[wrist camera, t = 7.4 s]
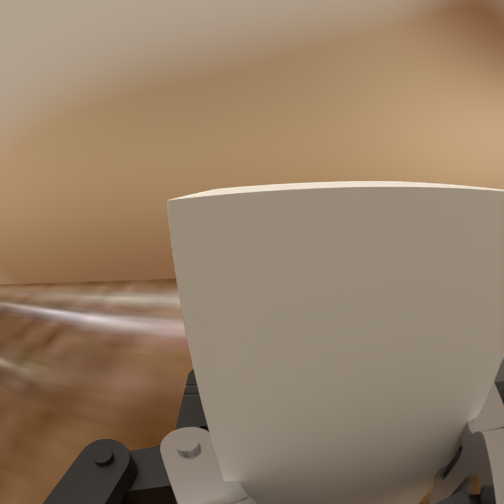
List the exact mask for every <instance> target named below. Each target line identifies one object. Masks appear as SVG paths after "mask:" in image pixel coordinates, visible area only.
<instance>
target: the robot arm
mask: <svg viewBox="0 0 504 504" xmlns="http://www.w3.org/2000/svg"><path fill="white" fill-rule="evenodd" d="M461 438H462V444H461V446H460V448H459V449H458V451H457V452H456V454H455V455H454V457H453V458H452V460H451V461H450V463H449V464H448V465H446V466H444V467H442V468H440V469H439V470H438V472H437V473H436V475H435V476H434V488H433V492H432V495H431V497H430V500H429V503H428V504H504V381H499V382H493V384H492V387H491V389H490V391H489V393H488V396H487V398H486V400H485V402H484V404H483V406H482V408H481V410H480V412H479V414H478V416H477V417H476V418H474V419H472V420H470V421H468V422H467V424H466V426H465V428H464V430H463V431H462V433H461ZM43 504H258V503H257V502H256V501H255V500H254V499H253V498H252V497H249V496H248V494H247V493H246V492H245V490H244V488H243V487H242V485H241V484H240V482H239V481H224V479H223V475H222V472H221V469H220V466H219V463H218V460H217V456H216V453H215V450H214V446H213V443H212V439H211V436H210V432H209V429H208V425H207V421H206V418H205V414H204V410H203V406H202V402H201V398H200V394H199V390H198V386H197V382H196V377H195V373H194V369H193V370H192V371H191V372H190V373H189V375H188V379H187V383H186V387H185V391H184V396H183V400H182V404H181V408H180V412H179V417H178V421H177V425H176V429H175V430H174V431H172V432H171V433H169V434H168V435H167V436H166V437H165V438H164V439H163V441H162V442H161V445H159V446H156V447H152V448H147V449H140V450H133V451H128V449H127V448H126V447H125V446H124V445H123V444H122V443H120V442H118V441H116V440H112V439H102V440H97V441H94V442H92V443H90V444H89V445H87V446H86V447H85V448H84V449H83V451H82V452H81V453H80V455H79V456H78V457H77V459H76V460H75V461H74V463H73V464H72V465H71V467H70V468H69V469H68V471H67V472H66V473H65V475H64V476H63V477H62V479H61V480H60V481H59V483H58V484H57V485H56V487H55V488H54V489H53V491H52V492H51V493H50V495H49V496H48V497H47V499H46V500H45V501H44V503H43Z"/></svg>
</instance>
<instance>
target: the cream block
mask: <svg viewBox="0 0 504 504" xmlns="http://www.w3.org/2000/svg"><path fill="white" fill-rule="evenodd" d="M166 203H167V212H168V221H169V229H170V237H171V245H172V252H173V259H174V266H175V273H176V279H177V286H178V292H179V298H180V304H181V309H182V315H183V320H184V325H185V331H186V336H187V341H188V346H189V350H190V355H191V360H192V364H193V369H194V373H195V377H196V382H197V386H198V390H199V394H200V398H201V402H202V406H203V410H204V414H205V418H206V421H207V425H208V429H209V432H210V436H211V439H212V443H213V446H214V450H215V453H216V456H217V460H218V463H219V466H220V469H221V472H222V475H223V479H224V481H239V482H240V484H241V485H242V487H243V488H244V490H245V492H246V493H247V494H248V496H249V497H252V498H253V499H254V500H255V501H256V502H257V503H258V504H419V502H420V501H421V500H422V499H423V498H424V497H425V495H426V494H427V493H428V492H429V490H430V489H431V488H432V486H433V485H434V476H435V475H436V473H437V472H438V470H439V469H440V468H442V467H444V466H446V465H448V464H449V463H450V461H451V460H452V458H453V457H454V455H455V454H456V452H457V451H458V449H459V448H460V446H461V444H462V438H461V433H462V431H463V430H464V428H465V426H466V424H467V422H468V421H470V420H472V419H474V418H476V417H477V416H478V414H479V412H480V410H481V408H482V406H483V404H484V402H485V400H486V398H487V396H488V393H489V391H490V389H491V387H492V384H493V382H494V380H495V377H496V375H497V372H498V370H499V367H500V365H501V362H502V359H503V357H504V190H501V189H492V188H483V187H473V186H462V185H450V184H436V183H418V182H396V181H352V182H351V181H350V182H314V183H293V184H275V185H259V186H246V187H234V188H223V189H214V190H209V191H205V192H200V193H196V194H192V195H187V196H183V197H179V198H175V199H171V200H167V201H166Z"/></svg>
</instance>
